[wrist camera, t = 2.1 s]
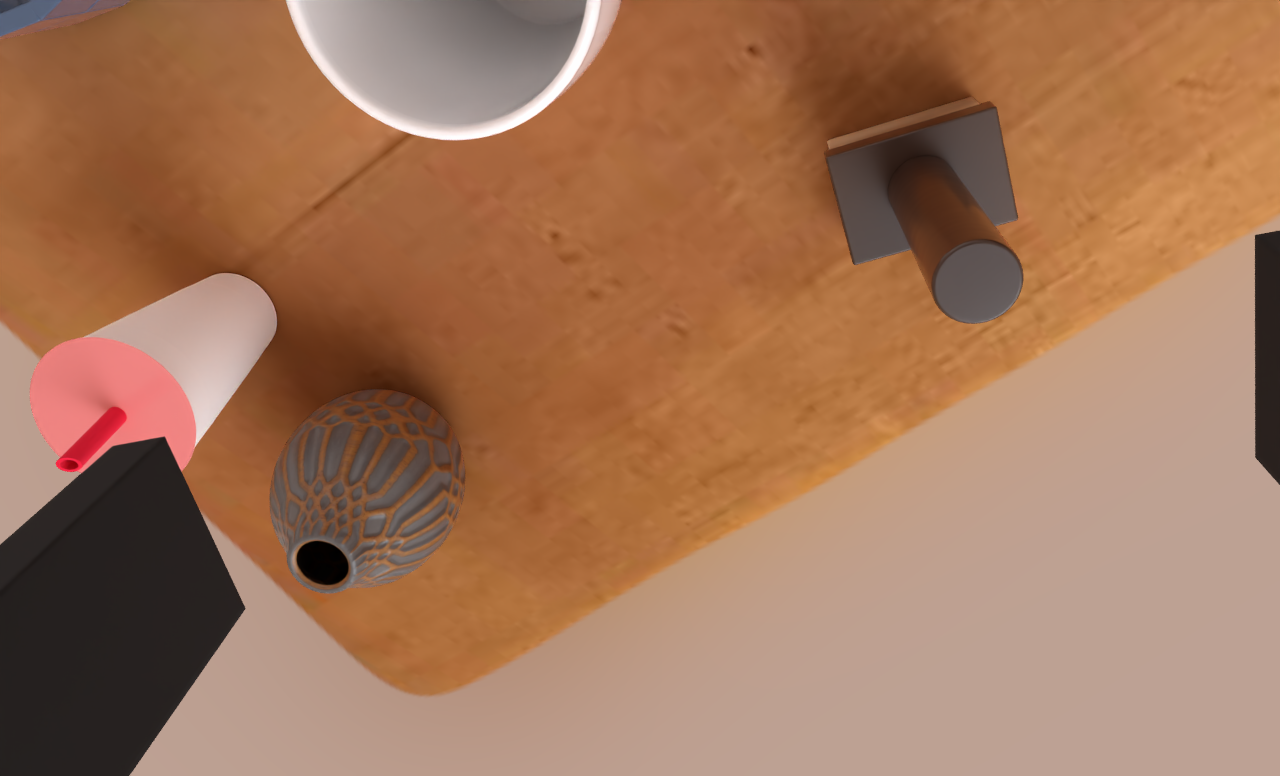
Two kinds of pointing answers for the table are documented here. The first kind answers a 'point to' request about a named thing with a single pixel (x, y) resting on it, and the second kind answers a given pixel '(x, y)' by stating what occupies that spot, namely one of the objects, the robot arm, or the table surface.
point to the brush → (934, 203)
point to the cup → (152, 372)
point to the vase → (366, 490)
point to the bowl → (49, 14)
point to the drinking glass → (453, 57)
